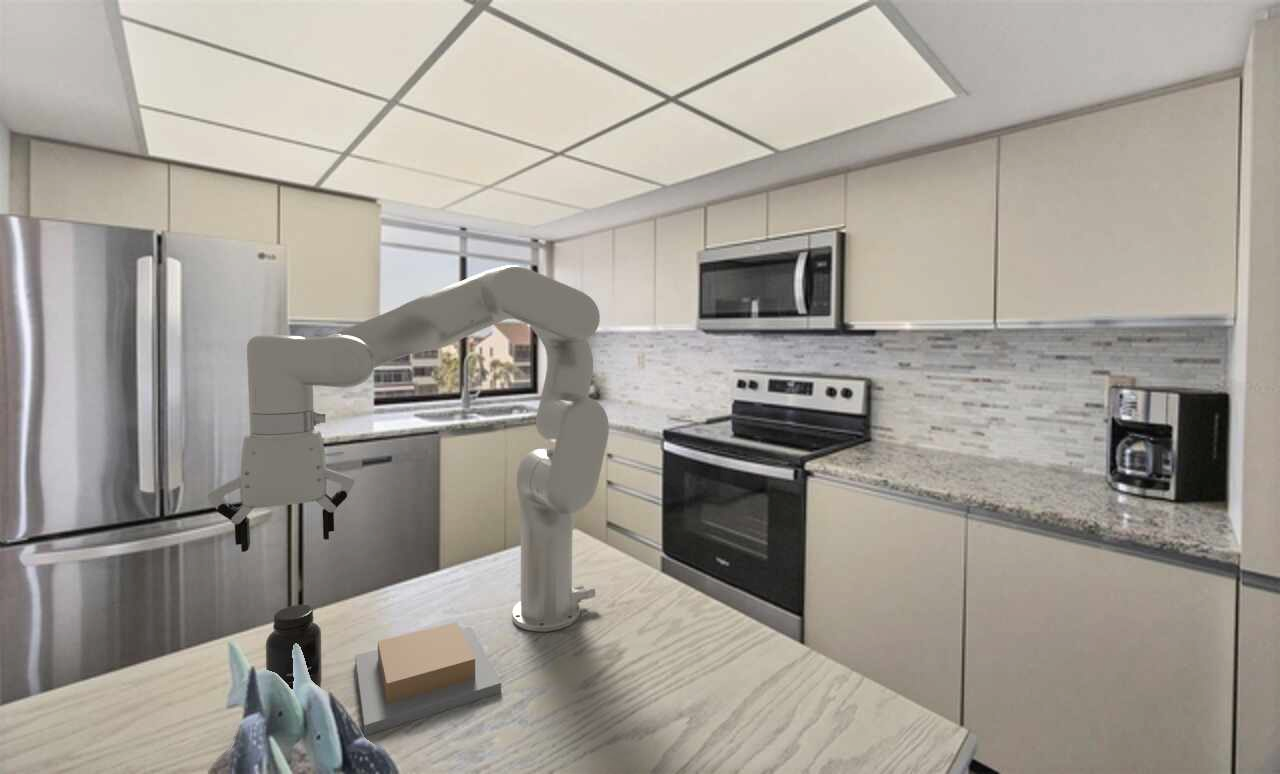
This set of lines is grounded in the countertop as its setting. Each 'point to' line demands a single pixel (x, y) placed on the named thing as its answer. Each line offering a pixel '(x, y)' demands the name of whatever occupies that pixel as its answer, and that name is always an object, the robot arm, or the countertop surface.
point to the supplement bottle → (287, 631)
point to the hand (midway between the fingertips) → (287, 542)
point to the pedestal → (422, 676)
